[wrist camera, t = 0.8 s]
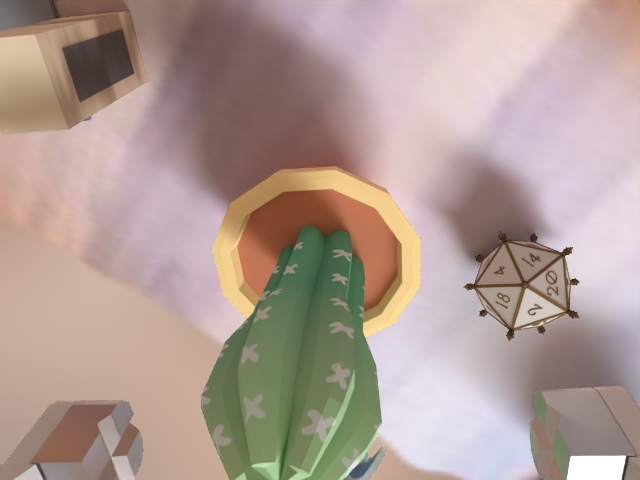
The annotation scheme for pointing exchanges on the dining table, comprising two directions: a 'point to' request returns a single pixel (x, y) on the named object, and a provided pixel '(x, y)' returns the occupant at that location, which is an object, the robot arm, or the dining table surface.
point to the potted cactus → (307, 324)
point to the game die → (524, 284)
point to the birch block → (66, 70)
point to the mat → (26, 14)
